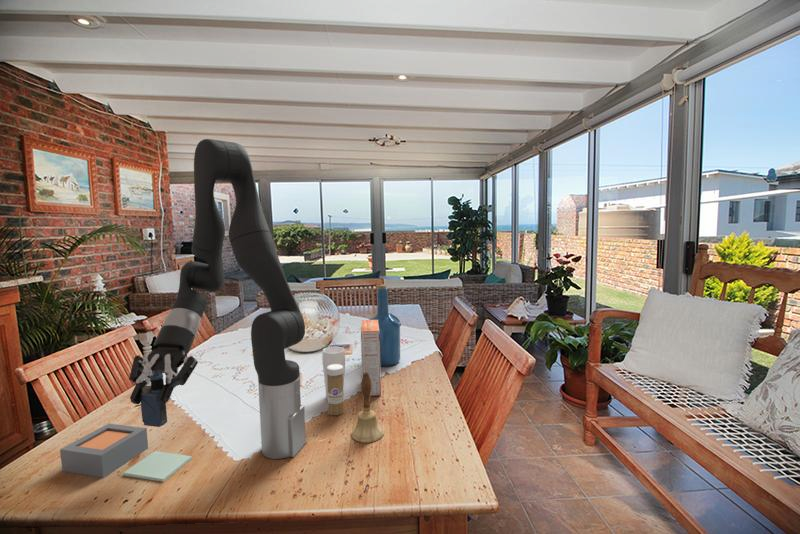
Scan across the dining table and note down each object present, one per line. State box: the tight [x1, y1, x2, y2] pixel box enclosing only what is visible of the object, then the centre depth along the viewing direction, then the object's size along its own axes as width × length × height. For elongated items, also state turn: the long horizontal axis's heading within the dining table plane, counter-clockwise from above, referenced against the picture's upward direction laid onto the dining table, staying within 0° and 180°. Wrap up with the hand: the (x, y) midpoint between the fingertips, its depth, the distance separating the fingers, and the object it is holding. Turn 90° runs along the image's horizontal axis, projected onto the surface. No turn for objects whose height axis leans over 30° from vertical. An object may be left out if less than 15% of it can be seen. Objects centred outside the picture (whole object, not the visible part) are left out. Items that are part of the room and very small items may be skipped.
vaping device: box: [140, 371, 168, 428], centre depth 82 cm, size 3×5×12 cm, turn 78°
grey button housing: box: [59, 423, 149, 478], centre depth 86 cm, size 11×11×5 cm
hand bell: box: [350, 372, 385, 444], centre depth 96 cm, size 8×8×16 cm
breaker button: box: [79, 431, 130, 450], centre depth 86 cm, size 7×7×3 cm
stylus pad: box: [123, 450, 193, 483], centre depth 84 cm, size 10×8×1 cm
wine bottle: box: [368, 284, 402, 367], centre depth 146 cm, size 14×13×30 cm
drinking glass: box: [321, 346, 346, 399], centre depth 116 cm, size 7×7×15 cm
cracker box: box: [360, 319, 382, 397], centre depth 123 cm, size 14×6×21 cm, turn 5°
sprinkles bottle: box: [327, 364, 345, 416], centre depth 107 cm, size 5×5×13 cm
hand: (147, 403), depth 80 cm, fingers closed on vaping device, 5 cm apart
